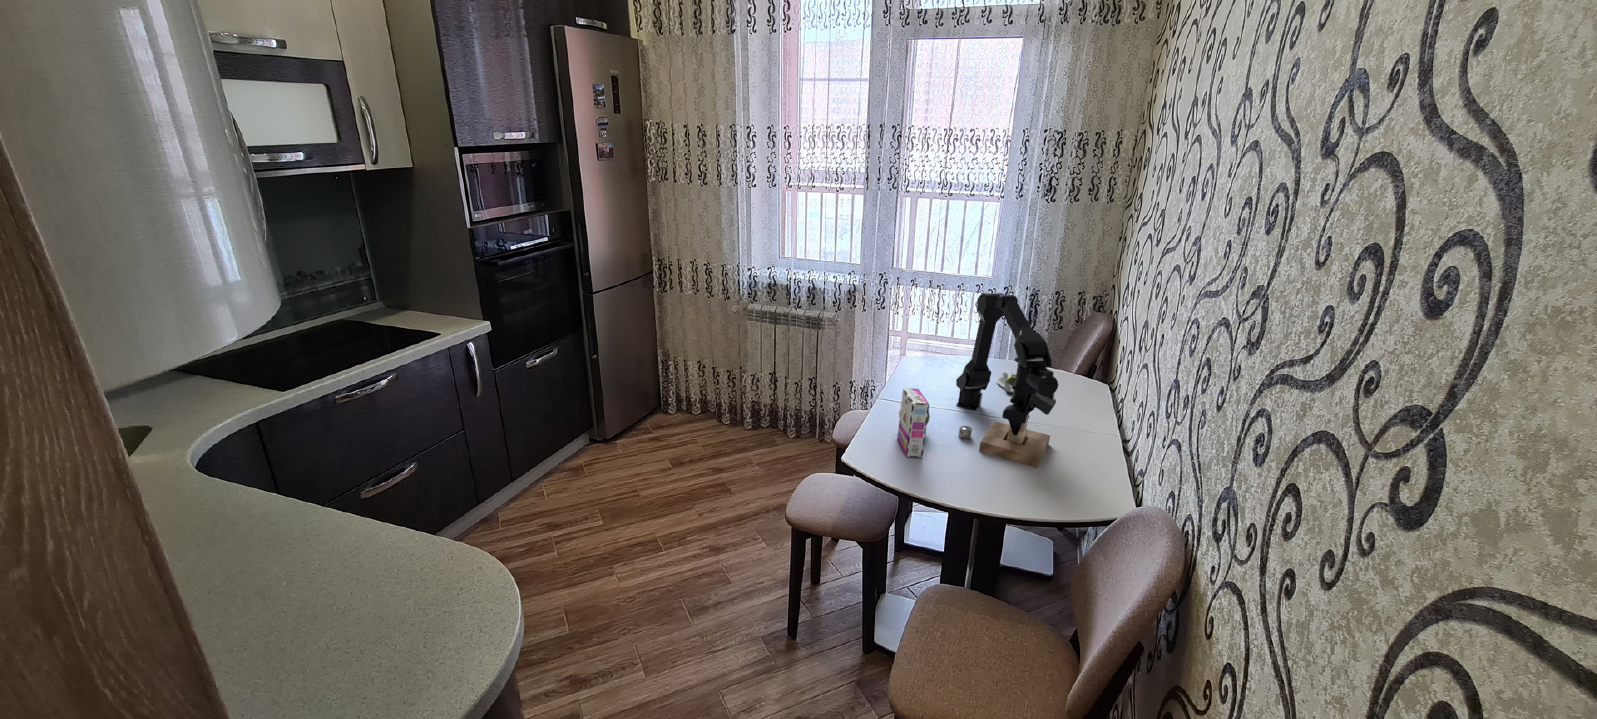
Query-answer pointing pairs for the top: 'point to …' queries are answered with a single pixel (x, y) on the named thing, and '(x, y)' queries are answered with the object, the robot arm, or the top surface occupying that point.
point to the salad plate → (1007, 382)
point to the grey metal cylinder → (965, 432)
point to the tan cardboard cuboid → (1020, 435)
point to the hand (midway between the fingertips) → (1016, 432)
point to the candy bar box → (913, 422)
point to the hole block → (1014, 445)
